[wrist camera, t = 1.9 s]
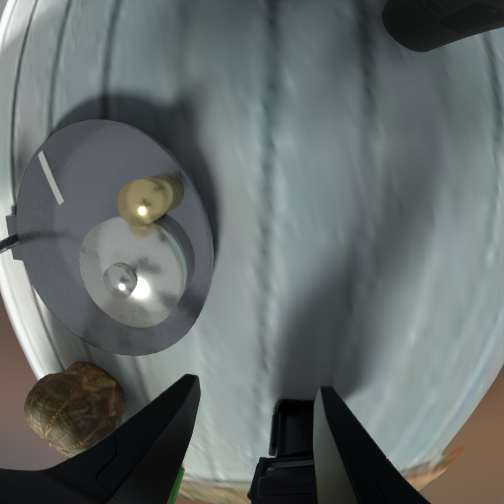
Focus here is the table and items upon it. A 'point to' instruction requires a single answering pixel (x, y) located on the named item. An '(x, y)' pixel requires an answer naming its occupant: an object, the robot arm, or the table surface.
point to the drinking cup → (440, 21)
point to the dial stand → (11, 238)
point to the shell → (75, 408)
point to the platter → (99, 210)
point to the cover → (137, 268)
